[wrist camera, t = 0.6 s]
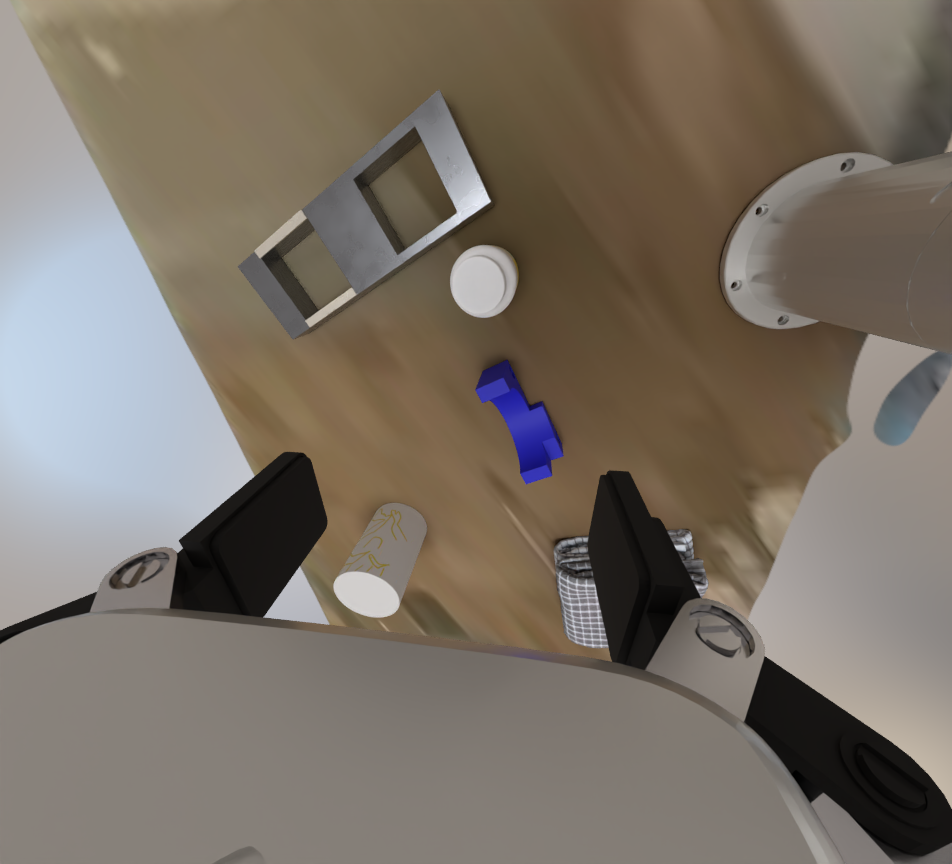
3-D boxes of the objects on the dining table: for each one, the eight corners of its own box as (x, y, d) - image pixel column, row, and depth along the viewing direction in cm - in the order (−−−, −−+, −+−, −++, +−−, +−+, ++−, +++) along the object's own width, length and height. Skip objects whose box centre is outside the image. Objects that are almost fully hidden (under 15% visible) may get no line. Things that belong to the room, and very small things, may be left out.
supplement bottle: (471, 311, 35) (452, 331, 27) (458, 254, 33) (432, 256, 24) (524, 299, 34) (520, 316, 25) (513, 238, 32) (506, 234, 23)
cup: (415, 499, 48) (382, 568, 38) (434, 541, 52) (409, 615, 41) (365, 506, 50) (321, 574, 40) (387, 546, 54) (352, 618, 43)
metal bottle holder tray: (448, 104, 28) (438, 88, 25) (494, 205, 31) (490, 201, 28) (259, 265, 36) (236, 266, 33) (309, 333, 39) (291, 340, 36)
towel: (549, 534, 48) (552, 582, 41) (694, 526, 44) (724, 577, 37) (561, 604, 55) (566, 655, 48) (688, 603, 50) (713, 659, 44)
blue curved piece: (561, 442, 41) (565, 471, 36) (526, 455, 42) (525, 484, 37) (520, 353, 37) (518, 370, 31) (483, 370, 38) (475, 389, 33)
